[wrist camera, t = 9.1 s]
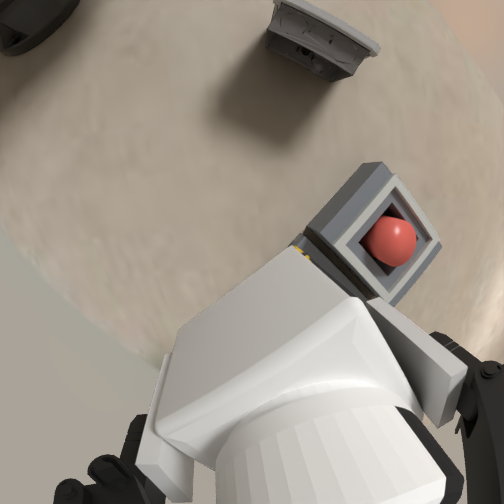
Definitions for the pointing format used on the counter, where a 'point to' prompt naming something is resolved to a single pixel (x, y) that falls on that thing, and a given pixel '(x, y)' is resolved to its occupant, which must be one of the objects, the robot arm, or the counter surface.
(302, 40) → the electrical switch
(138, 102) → the counter surface
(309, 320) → the medicine bottle
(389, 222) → the button
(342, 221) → the console
